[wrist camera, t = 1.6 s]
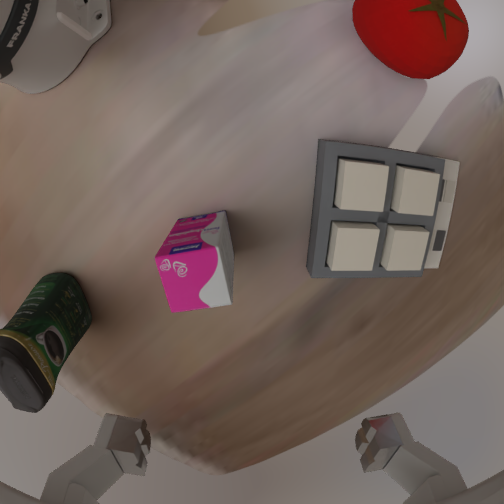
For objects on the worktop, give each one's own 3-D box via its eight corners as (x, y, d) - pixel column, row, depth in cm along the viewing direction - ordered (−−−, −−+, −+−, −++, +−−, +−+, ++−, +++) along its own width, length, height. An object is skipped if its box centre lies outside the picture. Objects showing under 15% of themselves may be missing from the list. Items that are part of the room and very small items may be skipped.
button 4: (338, 158, 31) (345, 161, 29) (379, 162, 32) (389, 166, 29) (333, 203, 33) (340, 209, 31) (374, 205, 34) (382, 212, 31)
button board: (318, 139, 33) (325, 140, 30) (457, 161, 34) (471, 165, 31) (306, 266, 39) (311, 277, 36) (436, 266, 40) (447, 276, 37)
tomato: (342, -20, 24) (385, -66, 13) (426, 12, 26) (487, -11, 14) (334, 67, 29) (383, 45, 18) (421, 94, 30) (489, 93, 19)
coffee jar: (36, 273, 37) (-37, 352, 20) (76, 267, 37) (3, 355, 20) (60, 328, 41) (7, 414, 24) (100, 325, 41) (51, 423, 24)
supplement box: (225, 207, 35) (221, 246, 25) (234, 254, 38) (234, 308, 27) (176, 216, 35) (152, 258, 25) (188, 262, 38) (171, 317, 27)
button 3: (331, 220, 34) (337, 227, 32) (371, 222, 34) (379, 229, 32) (326, 261, 36) (331, 270, 34) (364, 261, 36) (371, 270, 34)
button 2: (394, 165, 32) (405, 168, 30) (429, 170, 32) (440, 174, 30) (389, 207, 34) (398, 213, 32) (422, 210, 34) (432, 216, 32)
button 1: (386, 223, 35) (395, 230, 32) (419, 225, 35) (429, 232, 33) (378, 261, 37) (386, 270, 34) (411, 262, 37) (420, 270, 35)
